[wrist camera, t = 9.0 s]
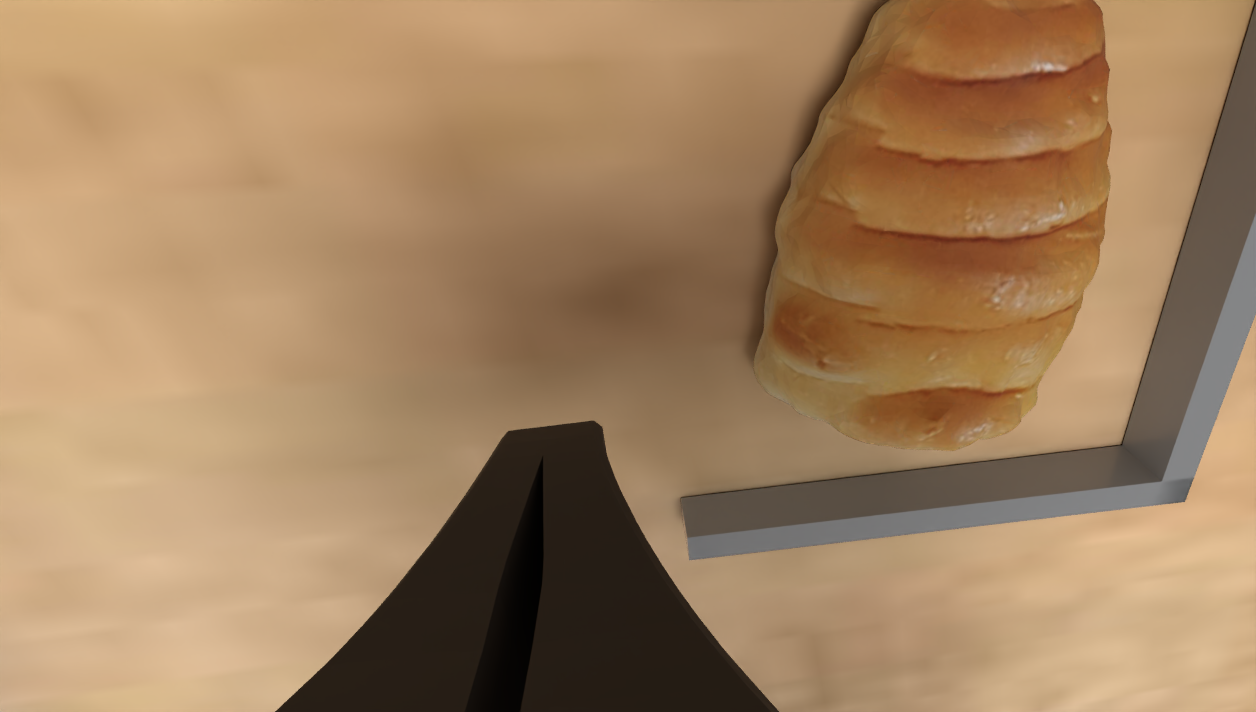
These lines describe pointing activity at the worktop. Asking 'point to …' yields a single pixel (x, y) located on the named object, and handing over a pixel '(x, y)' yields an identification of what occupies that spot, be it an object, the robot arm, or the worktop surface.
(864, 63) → the pastry
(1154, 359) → the grey u-shaped bracket
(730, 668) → the robot arm
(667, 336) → the worktop surface
